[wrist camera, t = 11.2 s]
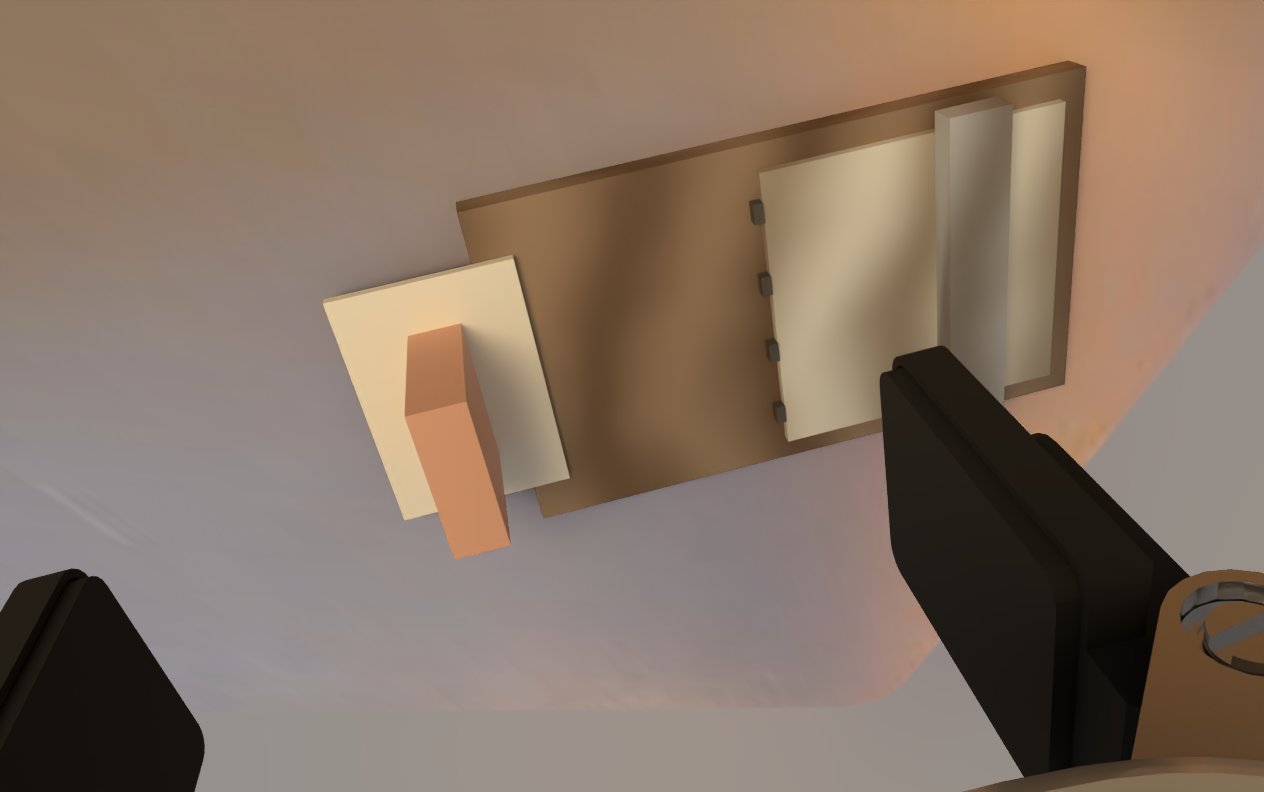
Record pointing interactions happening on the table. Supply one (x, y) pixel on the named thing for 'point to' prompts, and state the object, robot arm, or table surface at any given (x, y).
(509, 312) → the stub
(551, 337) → the ticket board
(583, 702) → the table surface
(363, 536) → the table surface
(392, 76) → the table surface
